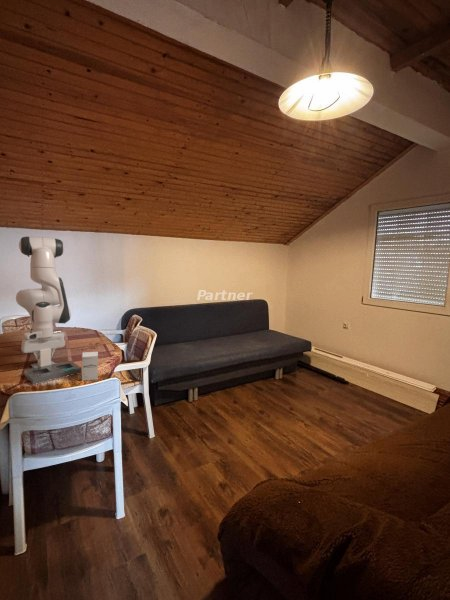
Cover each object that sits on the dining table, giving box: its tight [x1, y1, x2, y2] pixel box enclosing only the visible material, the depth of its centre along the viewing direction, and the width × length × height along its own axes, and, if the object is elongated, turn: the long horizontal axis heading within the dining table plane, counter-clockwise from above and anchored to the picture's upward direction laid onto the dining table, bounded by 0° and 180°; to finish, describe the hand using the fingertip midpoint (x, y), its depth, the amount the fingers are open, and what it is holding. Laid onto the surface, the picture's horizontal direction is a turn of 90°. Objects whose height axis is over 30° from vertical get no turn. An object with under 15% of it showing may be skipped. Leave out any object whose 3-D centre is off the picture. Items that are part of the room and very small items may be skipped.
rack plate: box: [23, 360, 82, 385], centre depth 152 cm, size 14×22×3 cm, turn 138°
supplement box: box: [81, 351, 99, 382], centre depth 150 cm, size 7×7×13 cm
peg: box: [37, 349, 52, 367], centre depth 161 cm, size 5×5×9 cm
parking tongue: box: [30, 360, 57, 368], centre depth 161 cm, size 9×10×1 cm
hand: (44, 357), depth 161 cm, fingers closed on peg, 5 cm apart
